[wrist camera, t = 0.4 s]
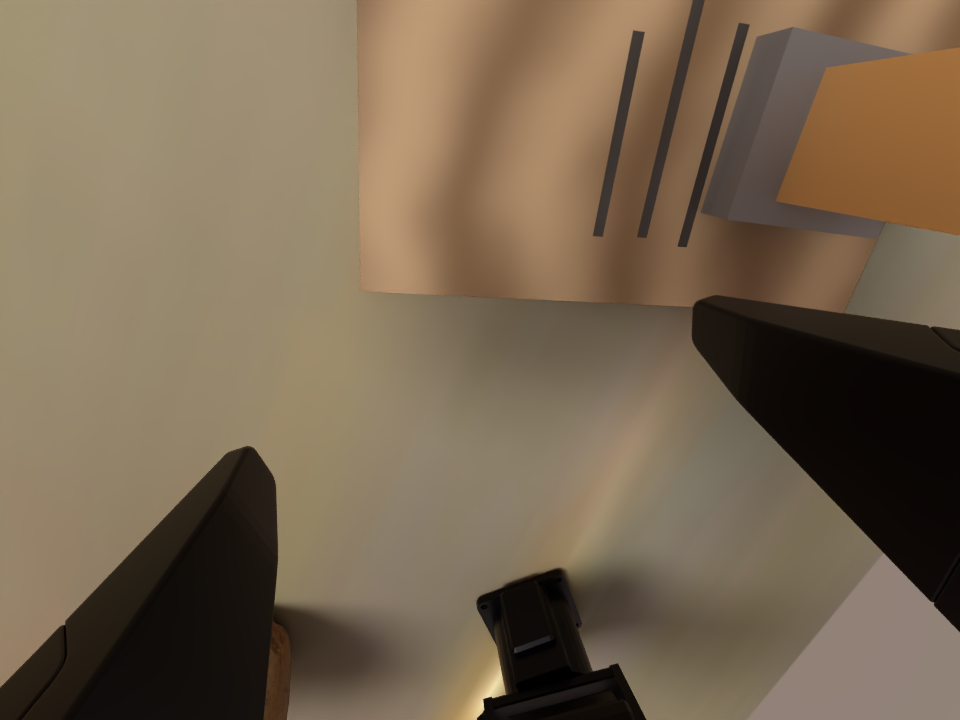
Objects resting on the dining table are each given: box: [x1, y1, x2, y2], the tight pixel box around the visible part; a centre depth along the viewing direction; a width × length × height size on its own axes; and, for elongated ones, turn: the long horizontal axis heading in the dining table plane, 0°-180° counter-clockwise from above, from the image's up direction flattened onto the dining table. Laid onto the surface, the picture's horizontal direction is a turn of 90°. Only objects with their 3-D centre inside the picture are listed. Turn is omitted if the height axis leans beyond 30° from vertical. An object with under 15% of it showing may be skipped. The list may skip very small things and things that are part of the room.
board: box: [357, 0, 960, 313], centre depth 21 cm, size 26×16×1 cm, turn 84°
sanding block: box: [701, 27, 960, 239], centre depth 17 cm, size 8×7×10 cm
